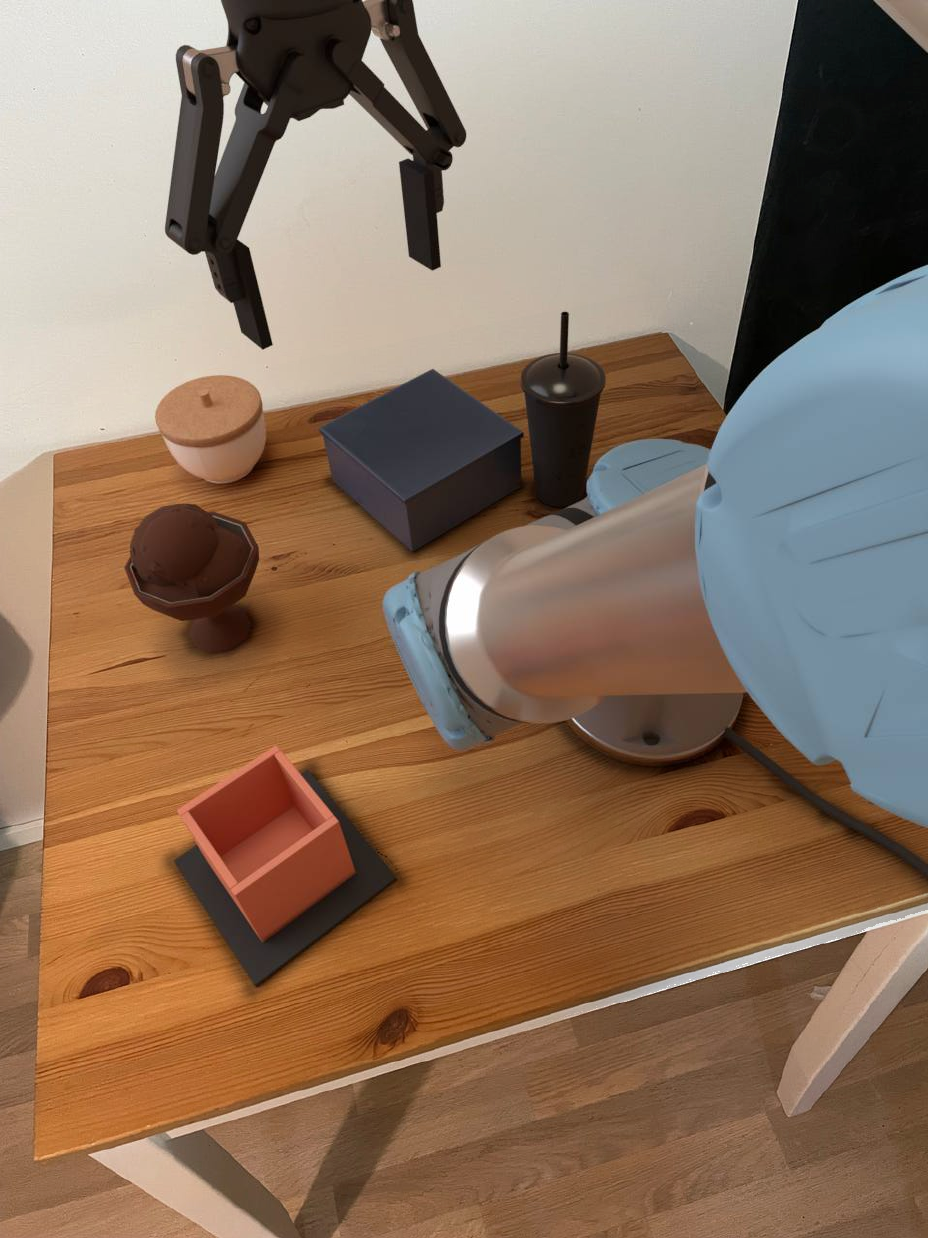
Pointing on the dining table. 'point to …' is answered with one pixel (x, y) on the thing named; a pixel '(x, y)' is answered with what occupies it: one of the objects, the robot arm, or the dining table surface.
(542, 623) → the robot arm
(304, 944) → the mat
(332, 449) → the tin
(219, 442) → the trinket box
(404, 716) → the dining table surface
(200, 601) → the ice cream bowl
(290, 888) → the tub
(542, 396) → the drinking cup
